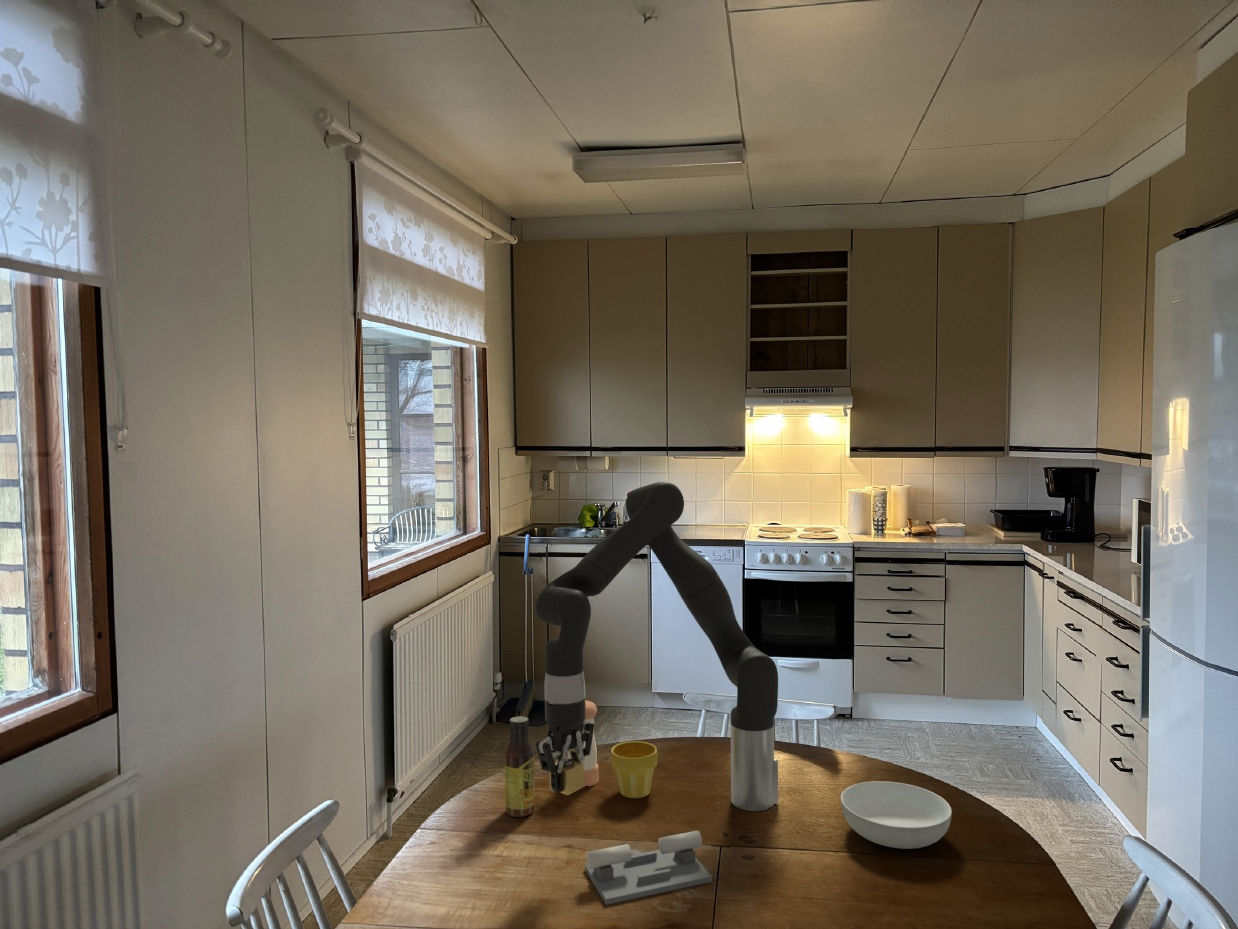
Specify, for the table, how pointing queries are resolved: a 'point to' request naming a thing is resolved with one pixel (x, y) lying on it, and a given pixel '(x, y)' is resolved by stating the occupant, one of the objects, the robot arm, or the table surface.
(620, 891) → the twin roller base
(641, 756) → the plant pot
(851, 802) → the serving bowl
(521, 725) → the sauce bottle
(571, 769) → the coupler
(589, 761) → the pepper shaker
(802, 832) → the table surface
